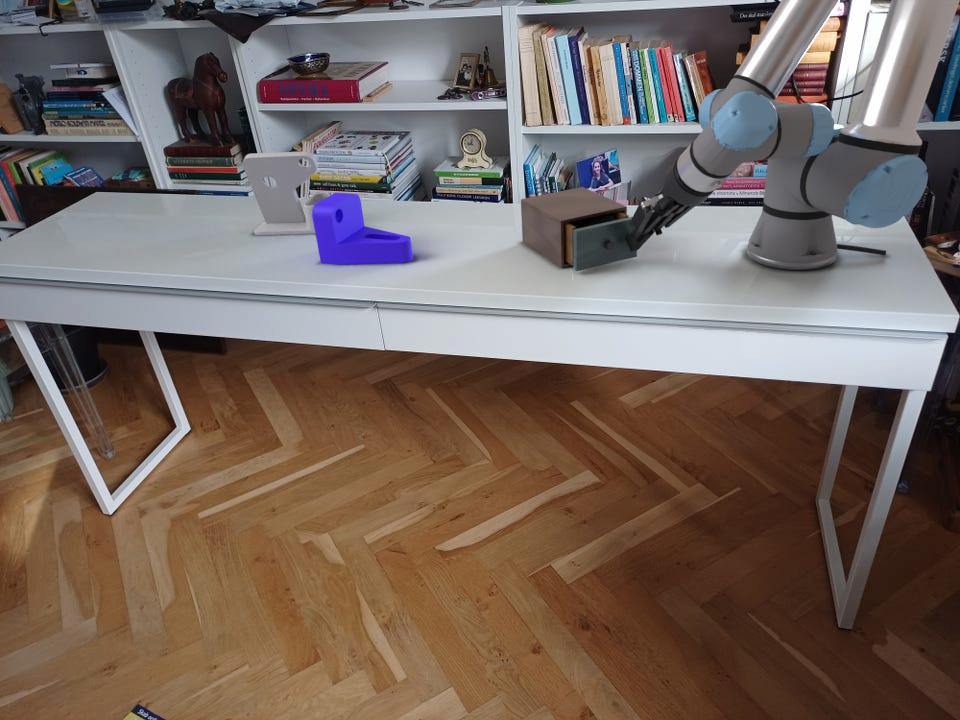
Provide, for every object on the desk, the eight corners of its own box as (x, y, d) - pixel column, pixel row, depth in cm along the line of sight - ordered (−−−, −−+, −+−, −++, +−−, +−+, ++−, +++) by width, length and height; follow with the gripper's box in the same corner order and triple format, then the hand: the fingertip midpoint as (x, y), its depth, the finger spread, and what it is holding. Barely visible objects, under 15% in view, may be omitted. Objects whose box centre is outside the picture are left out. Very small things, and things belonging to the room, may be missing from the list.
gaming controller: (590, 254, 136) (563, 234, 136) (583, 265, 141) (558, 247, 141) (619, 217, 138) (593, 199, 139) (611, 230, 143) (586, 212, 144)
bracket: (320, 262, 149) (310, 206, 144) (349, 244, 158) (340, 190, 152) (399, 270, 143) (391, 211, 137) (424, 250, 152) (417, 194, 146)
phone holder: (338, 218, 174) (325, 141, 165) (326, 233, 165) (311, 152, 157) (268, 221, 176) (251, 144, 168) (252, 235, 168) (234, 155, 159)
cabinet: (625, 252, 143) (627, 206, 138) (561, 268, 138) (560, 220, 134) (582, 229, 156) (582, 186, 152) (522, 243, 151) (520, 199, 147)
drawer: (640, 258, 138) (642, 219, 134) (580, 273, 133) (579, 233, 130) (593, 233, 151) (593, 197, 147) (537, 246, 147) (536, 209, 143)
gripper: (672, 202, 111) (608, 270, 132) (741, 186, 115) (668, 255, 137) (652, 159, 112) (593, 233, 134) (721, 146, 117) (652, 219, 138)
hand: (631, 244), depth 135 cm, fingers closed
